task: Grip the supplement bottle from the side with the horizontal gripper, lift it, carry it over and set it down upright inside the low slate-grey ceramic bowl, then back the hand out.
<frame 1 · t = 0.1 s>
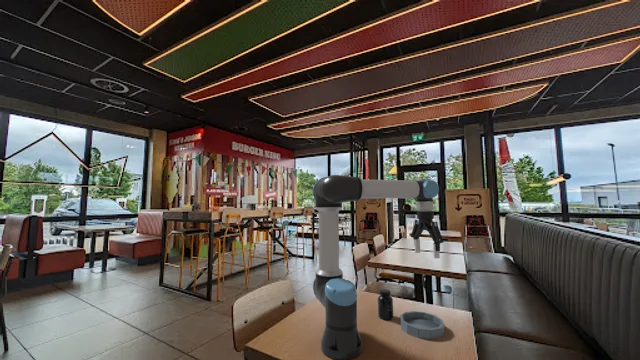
hand: (426, 255, 126), 28 cm above the table, tool pointing down, fingers open, 13 cm apart
supplement bottle: (385, 317, 123), on the table
bowl: (421, 328, 112), on the table
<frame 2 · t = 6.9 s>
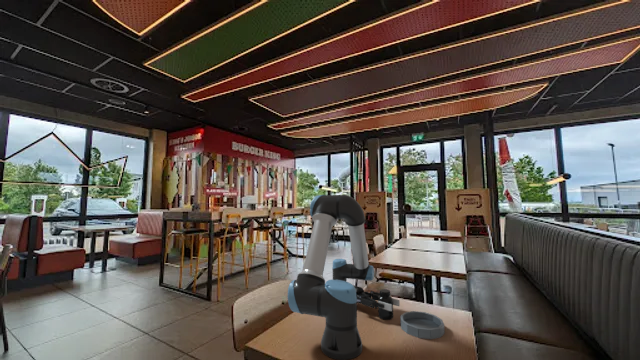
hand: (395, 305, 120), 7 cm above the table, tool horizontal, fingers closed on supplement bottle, 7 cm apart
supplement bottle: (385, 317, 123), on the table, touching gripper
when the fingers open (9 cm above the table, at t = 12.4 s): supplement bottle moves 2 cm, point 3 cm above the table.
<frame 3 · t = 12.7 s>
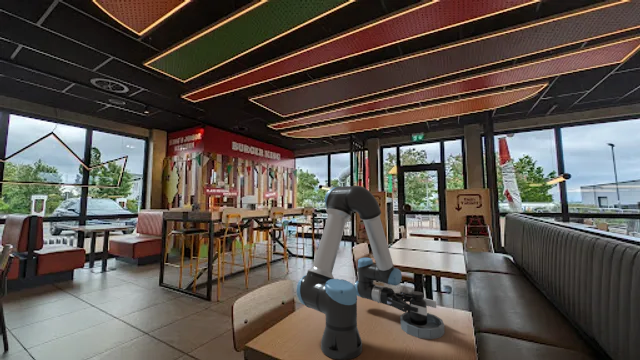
hand: (431, 308, 110), 9 cm above the table, tool horizontal, fingers open, 9 cm apart
supplement bottle: (418, 322, 111), point 3 cm above the table, touching gripper
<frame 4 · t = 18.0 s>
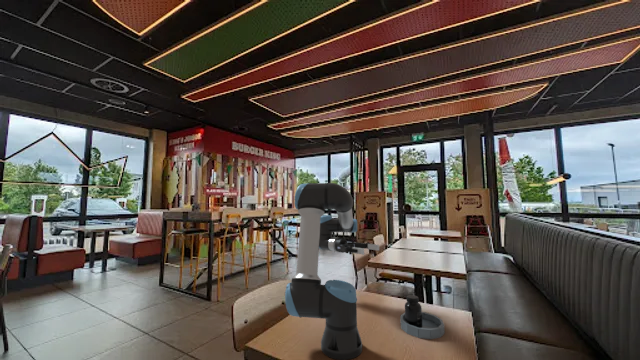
hand: (371, 249, 130), 30 cm above the table, tool horizontal, fingers open, 13 cm apart
supplement bottle: (413, 326, 112), point 1 cm above the table, touching bowl
at the end: supplement bottle inside the target area on the bowl (3.5 cm from its centre), point 0.9 cm above the bowl's base; supplement bottle tilted 1°; the gripper is holding nothing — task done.
